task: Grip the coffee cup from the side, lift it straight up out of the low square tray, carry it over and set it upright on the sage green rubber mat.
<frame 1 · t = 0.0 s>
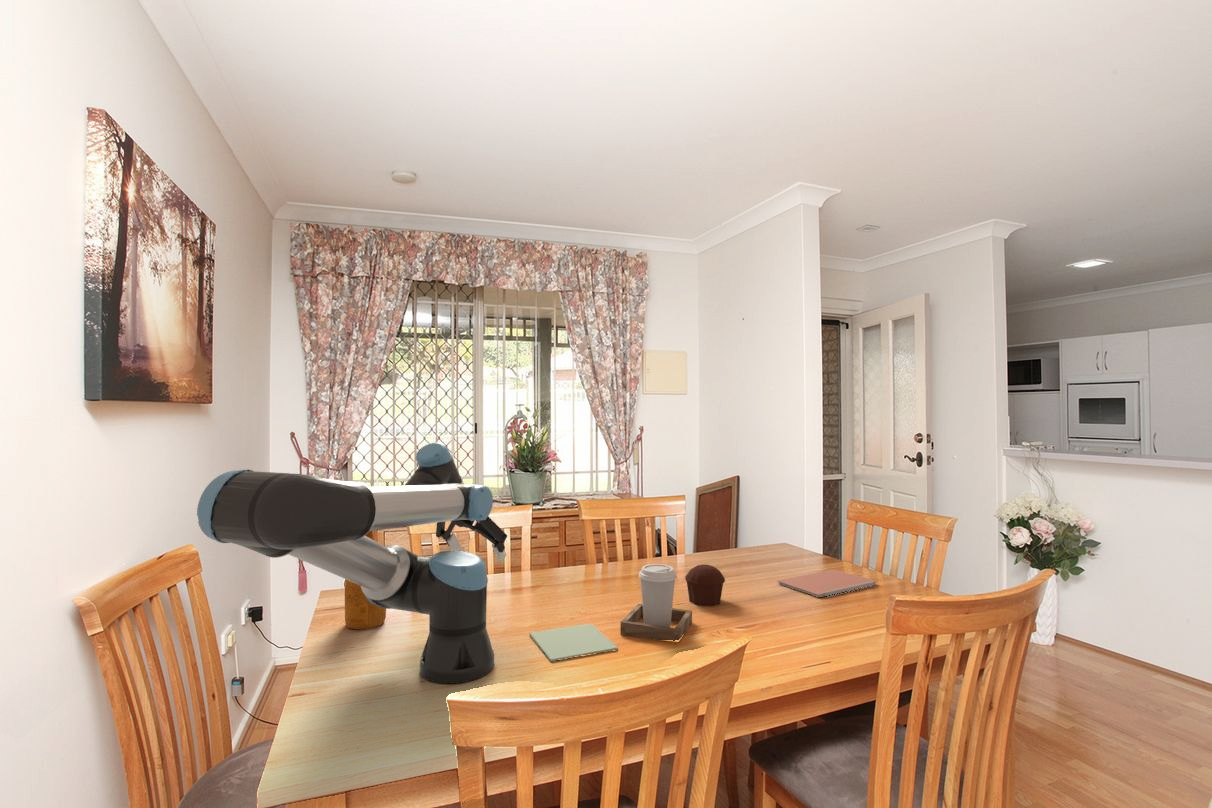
hand: (480, 556, 154), 15 cm above the table, tool tilted 35°, fingers open, 13 cm apart
wine bottle: (365, 624, 146), on the table
coffee cup: (657, 629, 145), resting in square tray
notebook: (828, 587, 182), on the table
mat: (572, 642, 135), on the table
square tray: (657, 628, 145), on the table
muffin: (704, 602, 165), on the table
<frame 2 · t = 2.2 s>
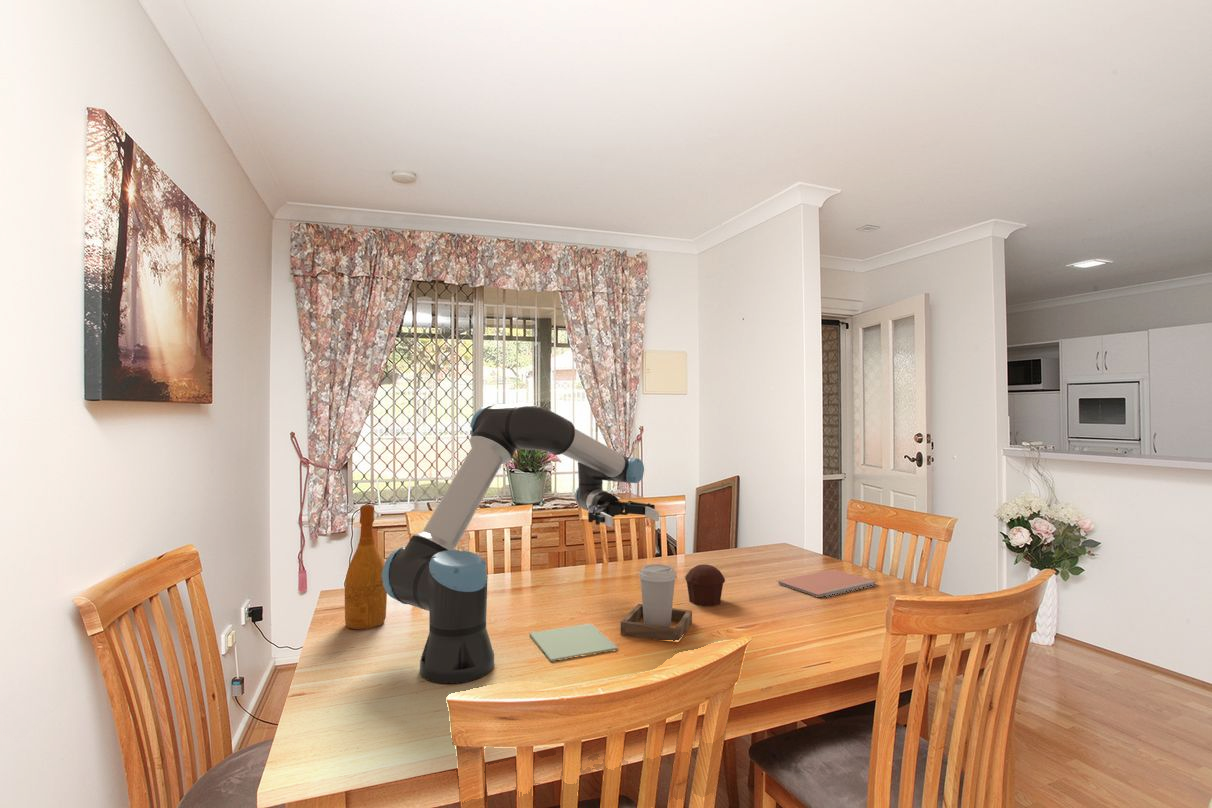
hand: (635, 519, 153), 26 cm above the table, tool horizontal, fingers open, 13 cm apart
nothing on the table moved.
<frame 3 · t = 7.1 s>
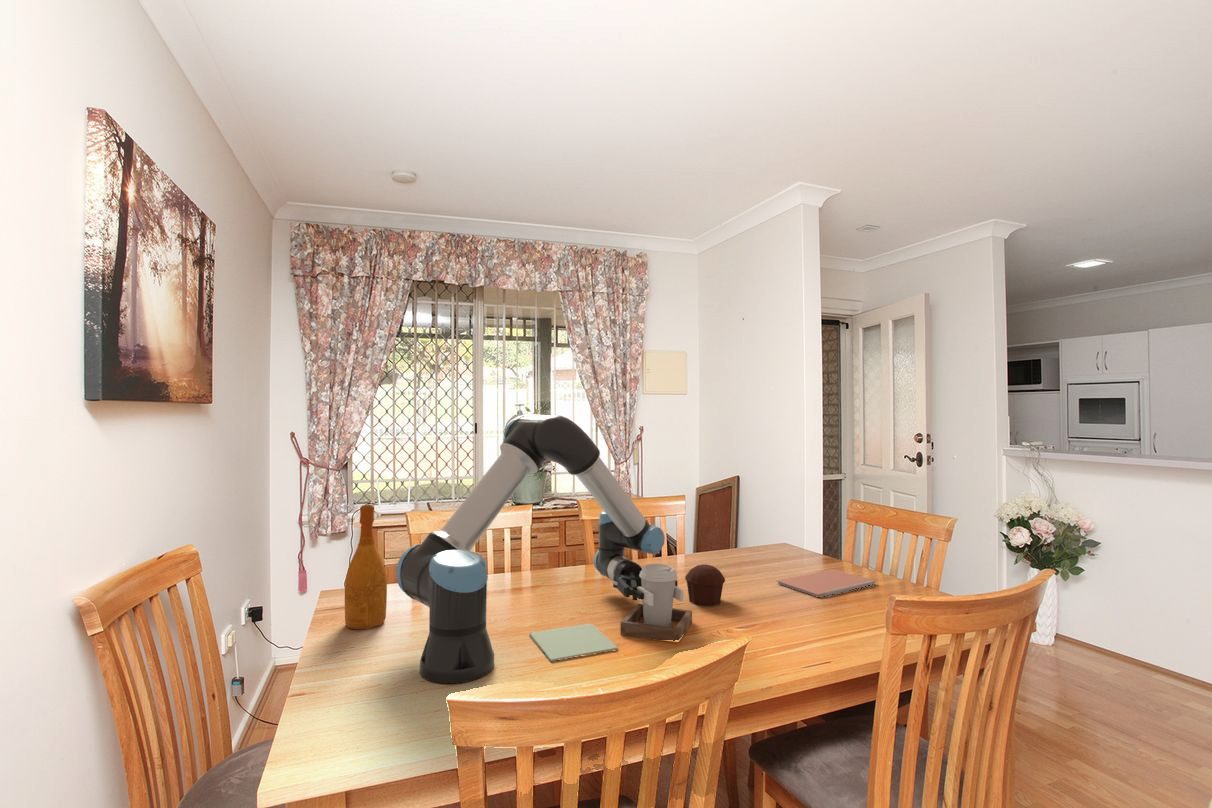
hand: (667, 597, 140), 9 cm above the table, tool horizontal, fingers closed on coffee cup, 8 cm apart
coffee cup: (657, 628, 145), resting in square tray, touching gripper
everything else where it was.
when the fingers open (11 cm above the table, at t = 12.9 s): coffee cup moves 2 cm, resting on mat.
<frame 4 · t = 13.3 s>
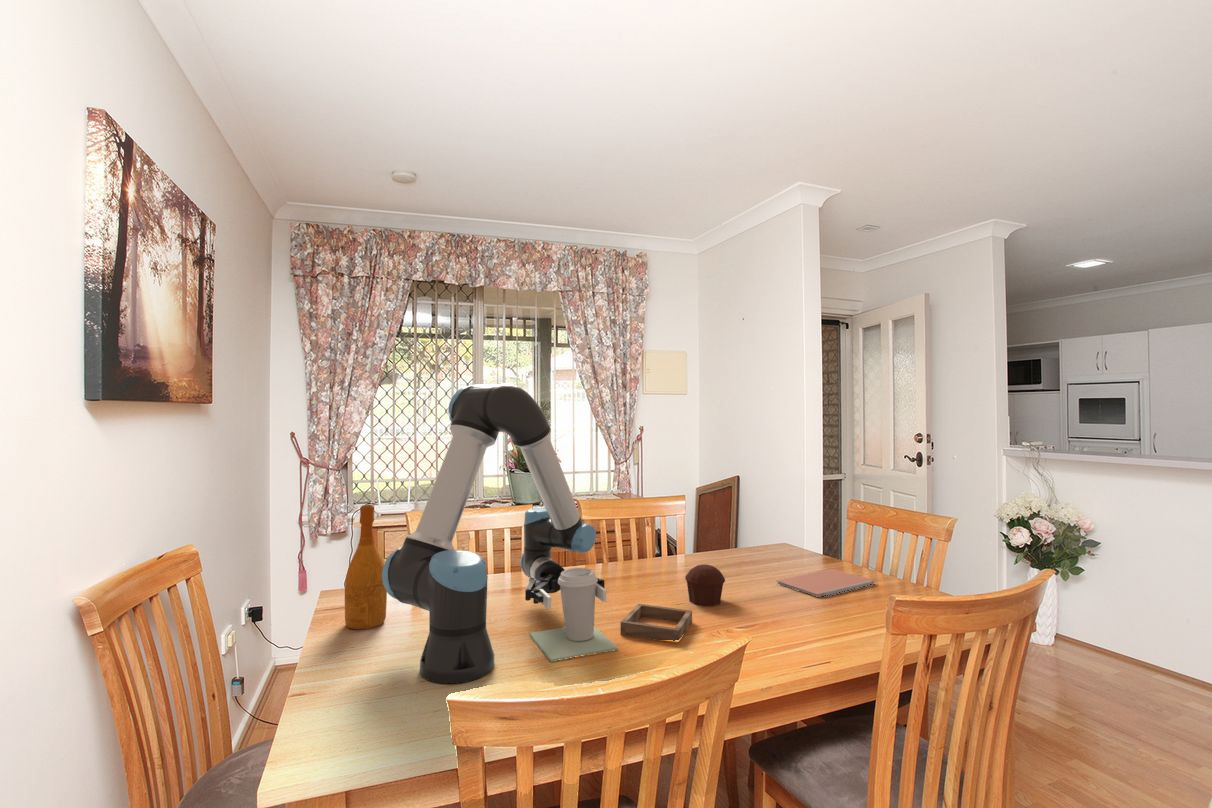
hand: (577, 599, 132), 11 cm above the table, tool horizontal, fingers open, 13 cm apart
coffee cup: (579, 636, 137), point 1 cm above the table, touching gripper, mat
everything else where it was.
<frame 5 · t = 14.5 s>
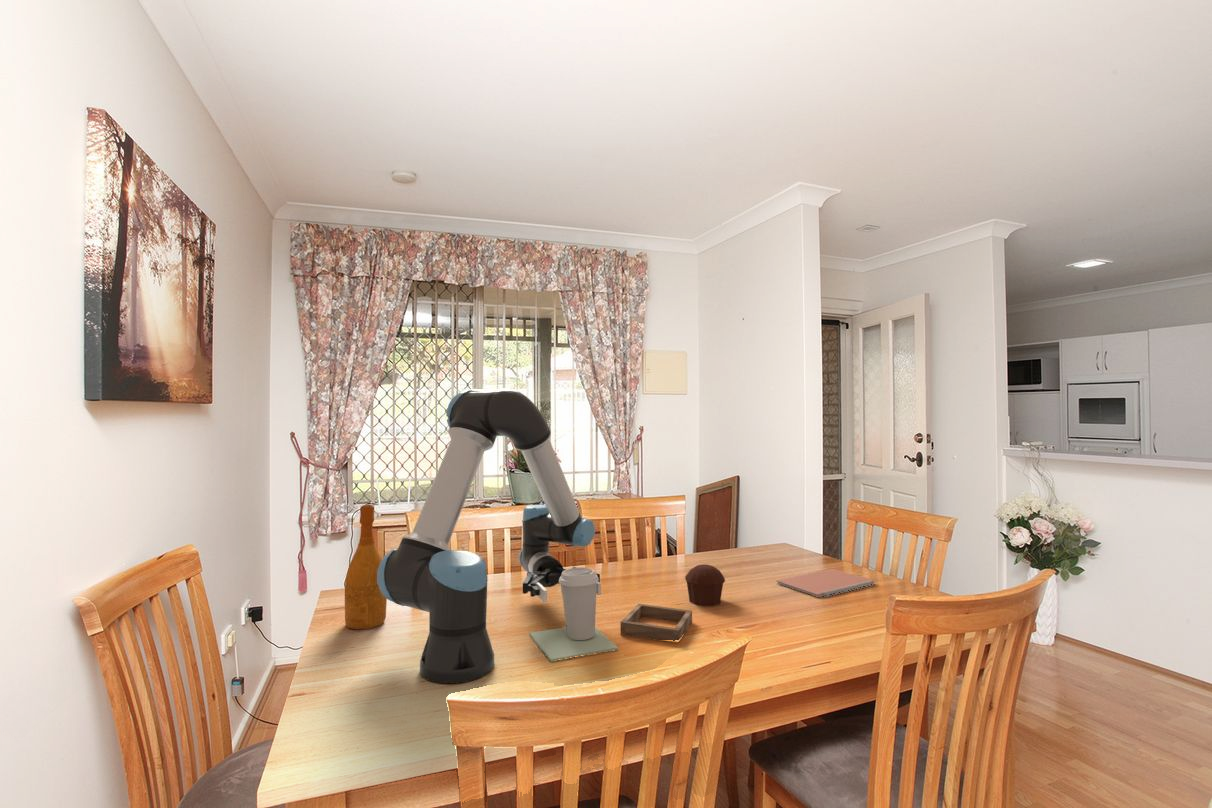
hand: (573, 592, 137), 11 cm above the table, tool horizontal, fingers open, 13 cm apart
nothing on the table moved.
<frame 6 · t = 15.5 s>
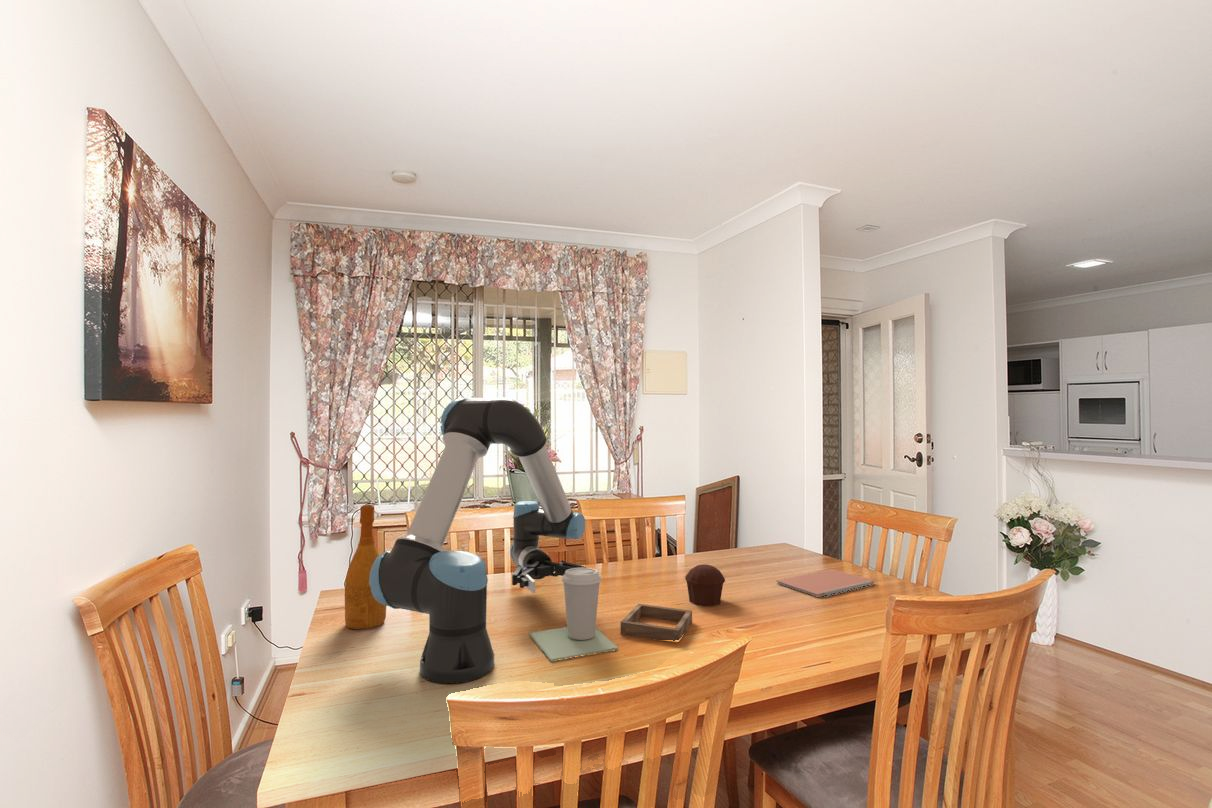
hand: (560, 584, 144), 11 cm above the table, tool horizontal, fingers open, 13 cm apart
coffee cup: (581, 635, 138), point 1 cm above the table, touching mat
everything else where it was.
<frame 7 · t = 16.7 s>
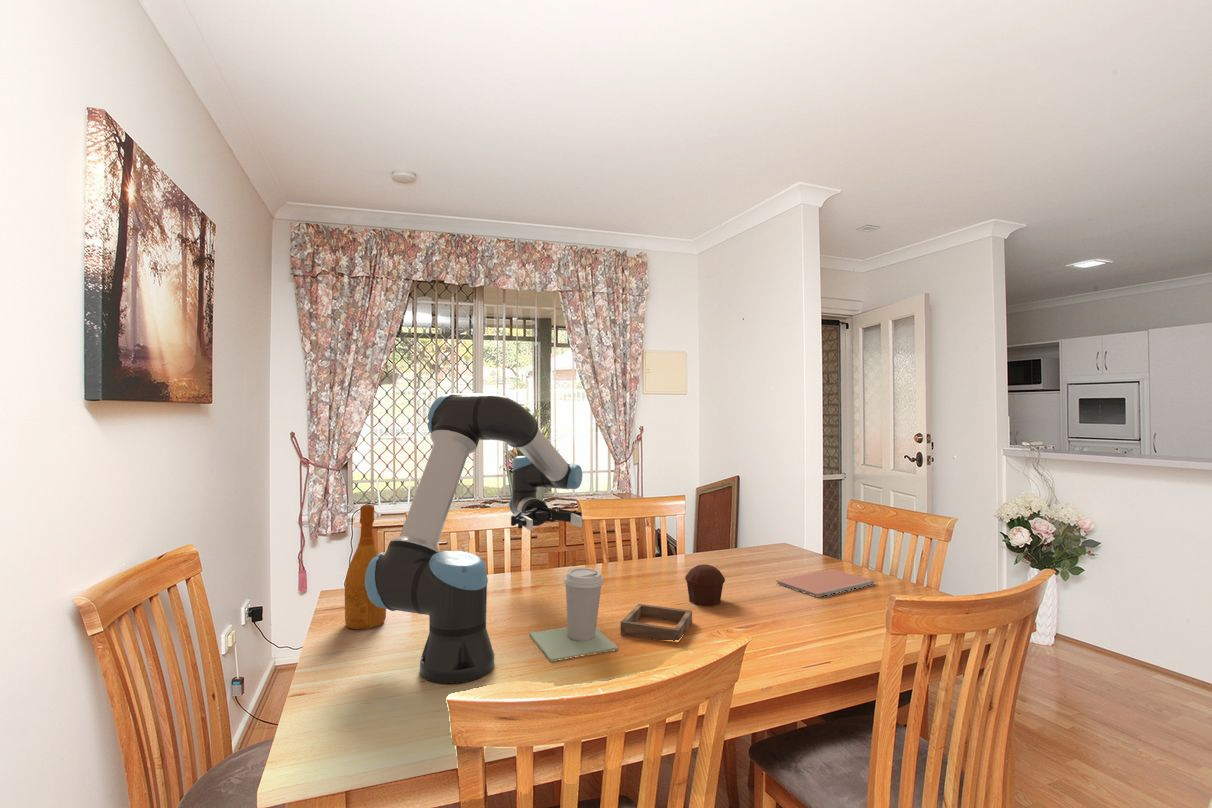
hand: (556, 523, 152), 24 cm above the table, tool horizontal, fingers open, 13 cm apart
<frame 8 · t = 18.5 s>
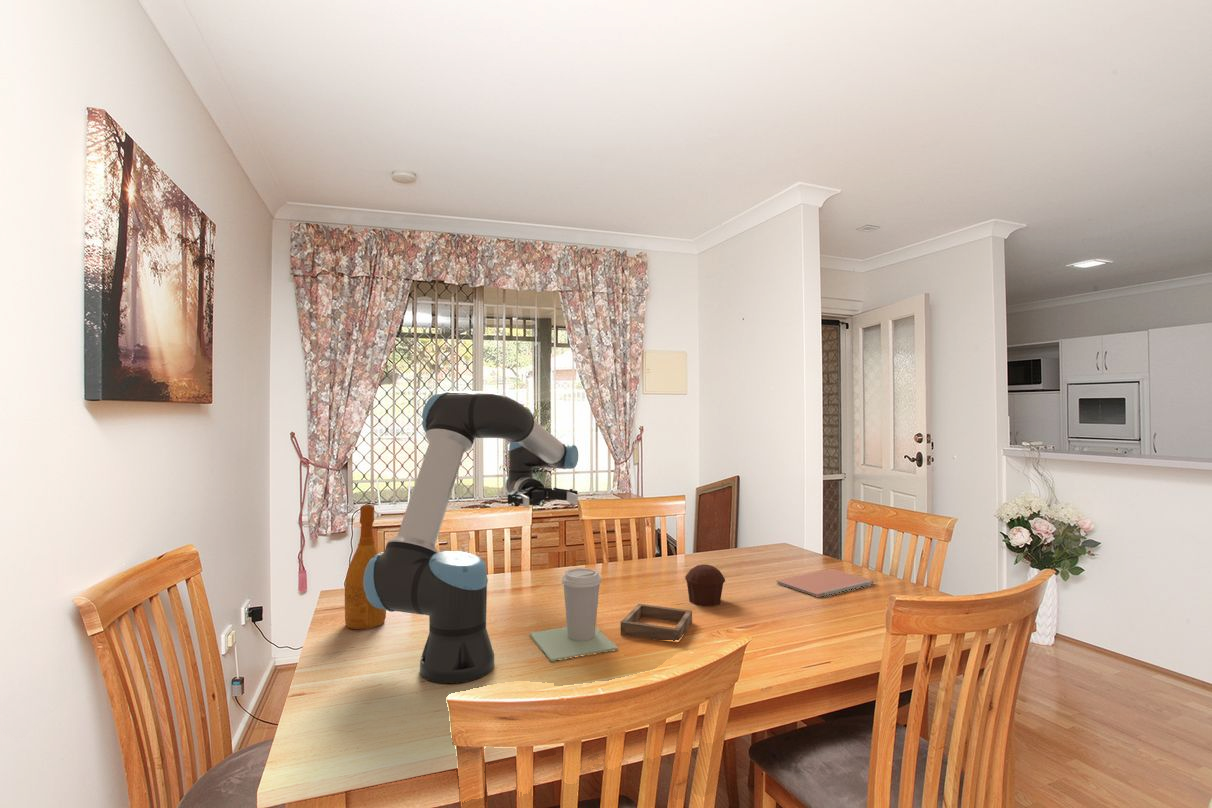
hand: (552, 501, 154), 30 cm above the table, tool horizontal, fingers open, 13 cm apart
nothing on the table moved.
at the end: coffee cup 3.2 cm from the mat (horizontally); coffee cup tilted 1°; the gripper is holding nothing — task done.
